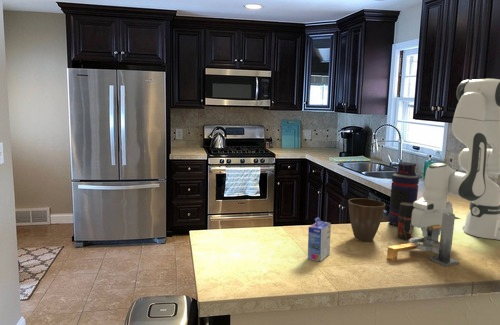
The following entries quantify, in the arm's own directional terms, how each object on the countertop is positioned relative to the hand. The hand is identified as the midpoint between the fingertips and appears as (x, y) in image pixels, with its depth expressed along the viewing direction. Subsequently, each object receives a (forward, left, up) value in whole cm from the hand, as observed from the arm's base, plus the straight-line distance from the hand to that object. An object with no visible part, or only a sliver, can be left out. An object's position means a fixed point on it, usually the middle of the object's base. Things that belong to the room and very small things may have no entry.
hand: (431, 235), depth 169 cm
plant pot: (+21, -16, -4) cm, 27 cm away
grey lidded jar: (0, 0, -4) cm, 4 cm away
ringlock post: (+16, +9, -4) cm, 19 cm away
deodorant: (+3, -11, -4) cm, 12 cm away
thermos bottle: (-12, -27, -4) cm, 30 cm away
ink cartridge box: (+51, -6, -4) cm, 52 cm away
